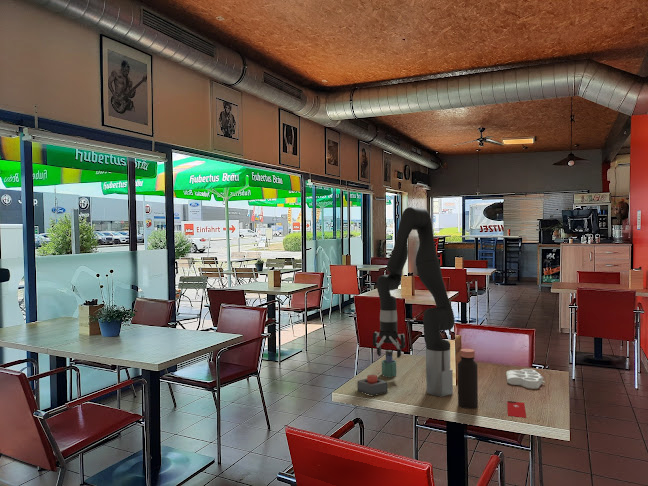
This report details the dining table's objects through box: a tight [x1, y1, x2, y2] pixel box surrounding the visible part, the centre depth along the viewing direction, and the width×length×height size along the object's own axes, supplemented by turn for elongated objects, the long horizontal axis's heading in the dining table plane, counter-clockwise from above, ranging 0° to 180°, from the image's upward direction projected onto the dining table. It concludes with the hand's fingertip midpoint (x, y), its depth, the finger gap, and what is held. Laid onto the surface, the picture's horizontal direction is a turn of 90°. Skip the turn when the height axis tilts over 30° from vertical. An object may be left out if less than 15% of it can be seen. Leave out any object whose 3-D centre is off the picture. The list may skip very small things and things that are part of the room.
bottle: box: [457, 348, 479, 410], centre depth 171 cm, size 7×7×20 cm
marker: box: [385, 349, 394, 363], centre depth 210 cm, size 3×3×10 cm
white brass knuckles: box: [506, 368, 546, 390], centre depth 198 cm, size 3×18×15 cm
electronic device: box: [506, 400, 527, 419], centre depth 167 cm, size 6×1×15 cm
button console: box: [356, 377, 389, 396], centre depth 188 cm, size 8×8×4 cm
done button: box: [366, 374, 378, 384], centre depth 188 cm, size 4×4×3 cm
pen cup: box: [381, 359, 397, 378], centre depth 210 cm, size 6×6×6 cm
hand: (389, 356), depth 210 cm, fingers open, 8 cm apart
